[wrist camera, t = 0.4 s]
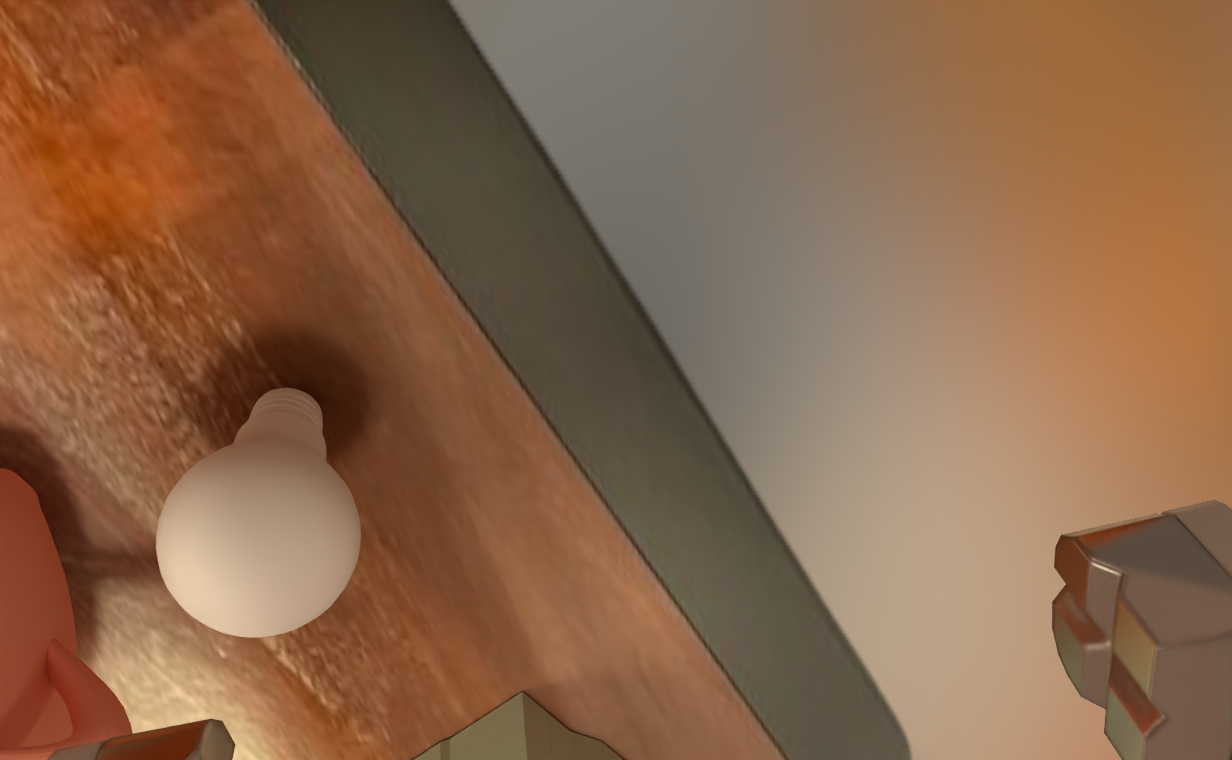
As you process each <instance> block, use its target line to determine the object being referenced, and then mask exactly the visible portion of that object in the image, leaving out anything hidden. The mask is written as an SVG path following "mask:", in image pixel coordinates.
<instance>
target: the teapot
mask: <svg viewBox="0 0 1232 760" xmlns="http://www.w3.org/2000/svg"><path fill="white" fill-rule="evenodd" d="M129 734H132V729H131V725H130V722H129V719H128V717H127V714H126V712H125V709H124V707H123V706H122V704H121V703H120V701H119V700H118V698H117V697H116V696H115V694H114V693H113V692H112V691H111V690H110V689H109V687H108V686H107V685H106V684H105V683H104V682H103V681H102V680H101V679H100V678H99V677H98V676H97V675H96V674H95V673H94V672H93V671H92V670H91V669H90V668H88V667H87V666H86V665H85V664H84V663H83V662H82V661H81V660H79V659H78V658H77V642H76V631H75V621H74V615H73V609H72V603H71V597H70V592H69V588H68V584H67V580H66V576H65V573H64V570H63V567H62V564H61V560H60V558H59V555H58V552H57V549H56V546H55V543H54V540H53V538H52V535H51V532H50V530H49V527H48V525H47V522H46V519H45V517H44V514H43V512H42V510H41V508H40V503H39V498H38V495H37V494H36V492H35V490H34V489H33V488H32V487H31V486H30V485H29V484H28V483H27V482H25V481H24V480H23V479H22V478H21V477H20V476H19V475H18V474H16V473H15V472H13V471H11V470H9V469H4V468H0V760H46V759H47V758H48V757H49V756H50V755H51V754H52V753H53V752H54V751H55V750H56V749H62V748H67V747H72V746H78V745H83V744H89V743H94V742H100V741H105V740H108V739H109V738H114V737H119V736H124V735H129Z"/></svg>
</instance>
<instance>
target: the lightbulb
mask: <svg viewBox="0 0 1232 760" xmlns="http://www.w3.org/2000/svg"><path fill="white" fill-rule="evenodd" d="M322 429H323V417H322V411H321V408H320V406H319V405H318V403H317V402H316V401H315V400H314V398H312V397H311V396H310V395H308V394H307V393H305V392H303V391H300V390H297V389H292V388H279V389H274V390H271V391H269V392H267V393H265V394H264V395H262V396H261V397H260V398H259V399H258V401H257V402H256V404H255V406H254V407H253V409H252V412H251V414H250V417H249V420H248V421H247V422H246V423H245V424H244V425H243V426H242V427H241V428H240V430H239V431H238V433H237V435H236V438H235V440H234V443H233V444H232V445H229V446H226V447H224V448H222V449H220V450H218V451H216V452H214V453H212V454H210V455H209V456H207V457H205V458H203V459H202V460H200V461H198V462H197V463H196V464H195V465H194V466H192V467H191V468H190V469H189V470H188V471H187V472H186V473H185V474H184V475H183V476H182V477H181V479H180V480H179V481H178V482H177V483H176V485H175V486H174V488H173V489H172V490H171V492H170V493H169V495H168V496H167V498H166V501H165V504H164V506H163V509H162V512H161V515H160V517H159V520H158V524H157V535H156V552H157V558H158V564H159V568H160V572H161V575H162V578H163V580H164V582H165V584H166V587H167V589H168V590H169V591H170V593H171V594H172V596H173V597H174V598H175V600H176V601H177V602H178V603H179V605H180V606H181V607H182V608H183V609H184V610H185V611H186V612H187V613H188V614H190V615H191V616H192V617H193V618H195V619H196V620H198V621H199V622H201V623H203V624H204V625H206V626H208V627H210V628H212V629H215V630H217V631H219V632H222V633H225V634H229V635H233V636H239V637H249V638H252V637H267V636H272V635H278V634H283V633H286V632H289V631H292V630H295V629H297V628H299V627H301V626H303V625H305V624H307V623H308V622H310V621H312V620H313V619H315V618H317V617H318V616H320V615H321V614H322V613H323V612H324V611H326V610H327V609H328V608H329V607H330V606H331V605H332V604H333V603H334V601H335V600H336V599H337V598H338V596H339V595H340V594H341V593H342V591H343V590H344V589H345V587H346V586H347V584H348V582H349V579H350V577H351V575H352V573H353V571H354V569H355V566H356V564H357V560H358V555H359V550H360V543H361V528H360V520H359V516H358V512H357V509H356V506H355V502H354V499H353V496H352V494H351V493H350V491H349V489H348V487H347V486H346V484H345V482H344V481H343V480H342V479H341V478H340V476H339V475H338V474H337V473H336V472H335V470H334V469H333V468H332V467H331V466H330V465H329V464H328V463H327V462H326V444H325V440H324V437H323V435H322Z"/></svg>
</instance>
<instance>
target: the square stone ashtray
mask: <svg viewBox="0 0 1232 760" xmlns="http://www.w3.org/2000/svg"><path fill="white" fill-rule="evenodd" d="M414 760H623V759H622V758H621V757H619V756H618V755H617V754H616V753H615V752H613V751H612V750H611V749H610V748H609V747H608V746H606V745H605V744H604V743H603V742H601V741H599V740H596V739H593V738H590V737H587V736H584V735H580V734H577V733H574V732H571V731H569V730H568V729H567V728H566V727H565V726H563V725H562V724H561V723H560V722H558V721H557V720H556V719H555V718H554V717H552V716H551V715H550V714H548V712H547V711H545V710H544V709H543V708H542V707H541V706H539V705H538V704H537V703H536V702H535V701H533V700H532V699H531V698H530V697H529V696H527V695H526V694H525V693H524V692H521V693H519V694H518V695H516V696H515V697H513V698H512V699H510V700H509V701H507V702H506V703H504V704H502V705H501V706H499V707H498V708H496V709H495V710H493V711H492V712H490V713H489V714H487V715H486V716H484V717H482V718H481V719H479V720H478V721H476V722H475V723H473V724H472V725H470V726H469V727H467V728H466V729H464V730H462V731H461V732H459V733H458V734H456V735H455V736H453V737H452V738H450V739H447V740H444V741H442V742H440V743H438V744H437V745H435V746H434V747H432V748H430V749H429V750H427V751H426V752H424V753H423V754H421V755H420V756H418V757H417V758H415V759H414Z"/></svg>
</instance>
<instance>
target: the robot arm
mask: <svg viewBox="0 0 1232 760" xmlns="http://www.w3.org/2000/svg"><path fill="white" fill-rule="evenodd" d="M1054 567H1055V569H1056V570H1057V572H1058V573H1059V575H1060V576H1061V577H1062V579H1063V580H1064V582H1065V583H1066V585H1065V586H1064V588H1063V589H1062V590H1061V591H1060V593H1059V594H1058V595H1057V597H1056V598H1055V599H1054V600H1053V603H1052V629H1053V633H1054V638H1055V642H1056V646H1057V650H1058V654H1059V657H1060V659H1061V662H1062V664H1063V666H1064V668H1065V670H1066V673H1067V675H1068V677H1069V678H1070V680H1071V682H1072V683H1073V685H1074V686H1075V688H1076V690H1077V691H1078V693H1079V694H1080V696H1081V697H1083V698H1085V699H1087V700H1089V701H1090V702H1092V703H1094V704H1096V705H1098V706H1100V707H1102V708H1104V709H1106V716H1105V728H1104V733H1105V735H1106V736H1107V738H1108V739H1109V741H1110V742H1111V744H1112V745H1113V747H1114V748H1115V750H1116V751H1117V753H1118V754H1119V756H1120V757H1121V759H1122V760H1232V510H1231V509H1230V508H1229V507H1228V506H1227V505H1225V504H1223V503H1220V502H1218V501H1215V500H1212V501H1207V502H1203V503H1199V504H1194V505H1190V506H1185V507H1181V508H1177V509H1172V510H1168V511H1164V512H1162V513H1161V514H1152V515H1148V516H1143V517H1139V518H1134V519H1130V520H1125V521H1121V522H1117V523H1113V524H1108V525H1103V526H1099V527H1095V528H1090V529H1086V530H1081V531H1077V532H1072V533H1068V534H1064V535H1061V537H1060V539H1059V541H1058V543H1057V545H1056V550H1055V563H1054ZM234 748H235V743H234V741H233V739H232V738H231V736H230V734H229V732H228V730H227V729H226V727H225V725H224V723H223V721H220V720H215V719H208V720H203V721H198V722H192V723H187V724H182V725H177V726H171V727H166V728H161V729H156V730H150V731H145V732H140V733H135V734H129V735H124V736H119V737H114V738H109V739H108V740H105V741H100V742H94V743H89V744H83V745H78V746H72V747H67V748H62V749H56V750H55V751H54V752H53V753H52V754H51V755H50V756H49V757H48V758H47V759H46V760H232V759H233V754H234Z"/></svg>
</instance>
